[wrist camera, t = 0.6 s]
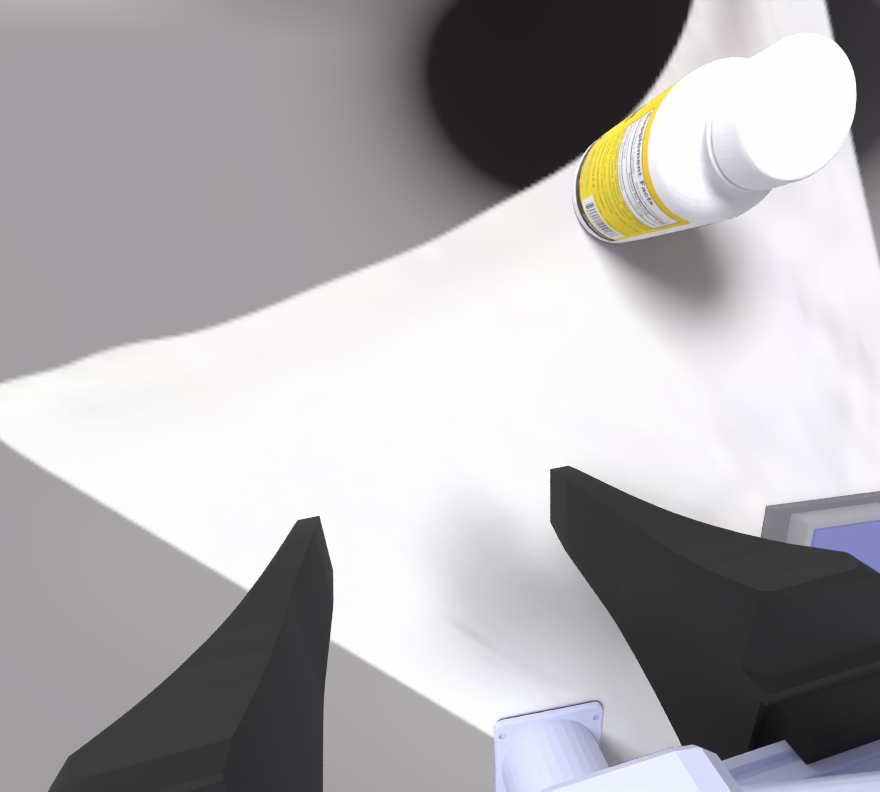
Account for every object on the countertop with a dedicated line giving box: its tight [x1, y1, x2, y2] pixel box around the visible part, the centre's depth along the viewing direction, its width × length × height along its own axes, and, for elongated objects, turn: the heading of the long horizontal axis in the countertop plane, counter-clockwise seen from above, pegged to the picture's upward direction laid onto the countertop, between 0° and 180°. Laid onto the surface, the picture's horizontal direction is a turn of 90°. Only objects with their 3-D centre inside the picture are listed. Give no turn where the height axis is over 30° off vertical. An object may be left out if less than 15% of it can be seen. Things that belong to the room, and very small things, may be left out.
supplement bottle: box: [572, 33, 856, 243], centre depth 17 cm, size 5×5×10 cm
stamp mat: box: [761, 491, 880, 573], centre depth 31 cm, size 18×10×2 cm, turn 3°
